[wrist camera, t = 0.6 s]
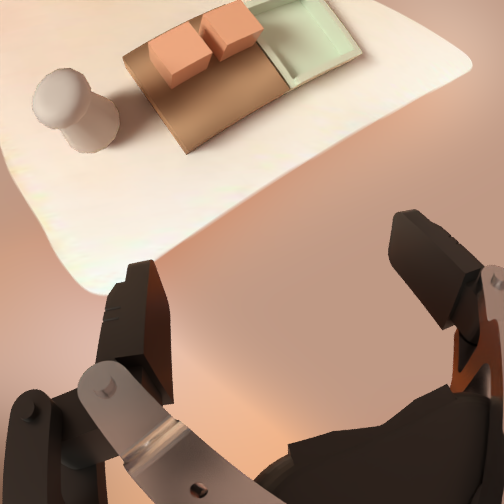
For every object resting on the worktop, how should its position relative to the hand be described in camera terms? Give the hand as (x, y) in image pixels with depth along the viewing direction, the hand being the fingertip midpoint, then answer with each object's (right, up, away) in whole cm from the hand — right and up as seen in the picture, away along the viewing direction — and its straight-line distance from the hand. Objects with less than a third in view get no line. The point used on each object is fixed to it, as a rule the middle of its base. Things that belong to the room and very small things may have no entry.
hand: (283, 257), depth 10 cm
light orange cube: (-8, +18, +16) cm, 25 cm away
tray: (+4, +25, +21) cm, 32 cm away
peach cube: (-4, +21, +16) cm, 27 cm away
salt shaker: (-17, +13, +18) cm, 28 cm away
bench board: (-6, +18, +19) cm, 27 cm away
